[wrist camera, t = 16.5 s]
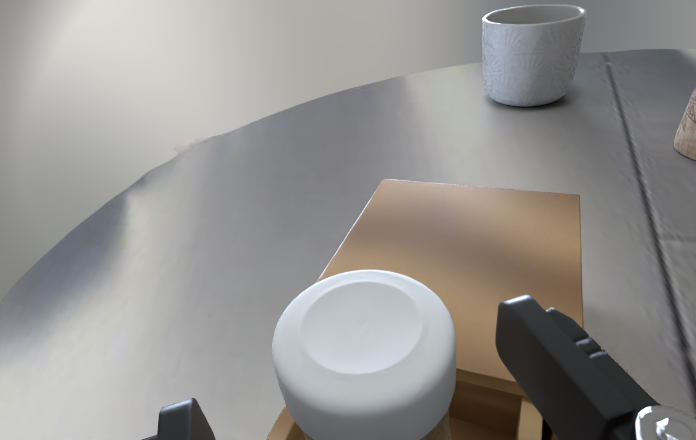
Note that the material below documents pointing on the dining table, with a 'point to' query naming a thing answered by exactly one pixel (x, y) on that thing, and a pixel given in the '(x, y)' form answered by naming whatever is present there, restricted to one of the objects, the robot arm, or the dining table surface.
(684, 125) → the figurine
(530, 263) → the cabinet
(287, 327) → the sprinkles bottle
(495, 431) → the drawer
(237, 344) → the dining table surface
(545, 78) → the planter
